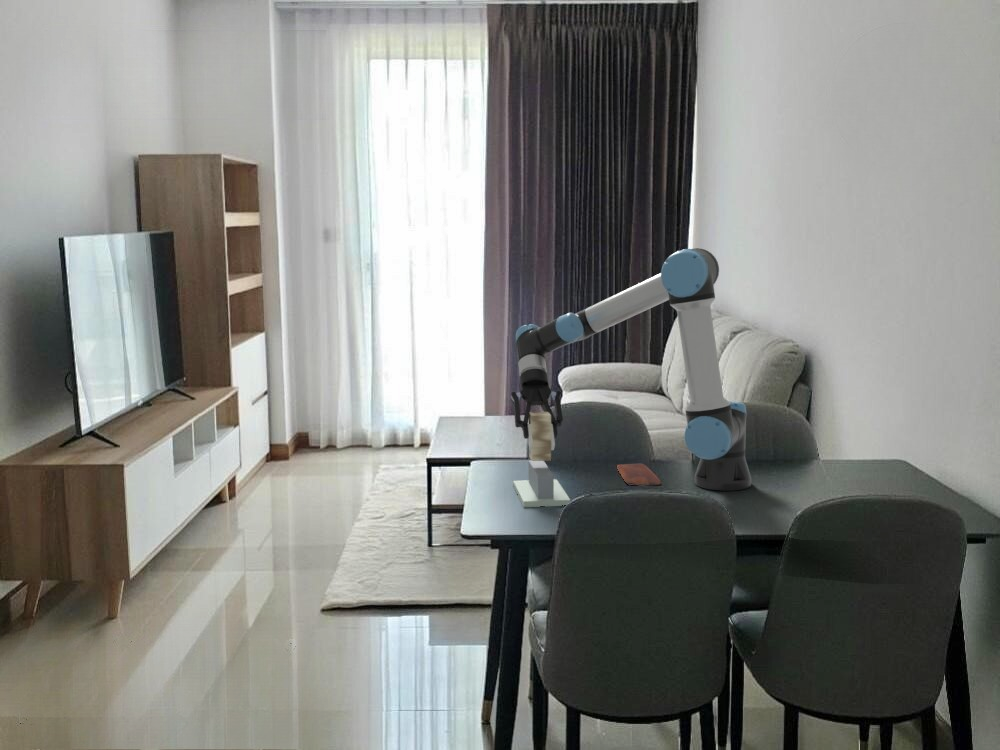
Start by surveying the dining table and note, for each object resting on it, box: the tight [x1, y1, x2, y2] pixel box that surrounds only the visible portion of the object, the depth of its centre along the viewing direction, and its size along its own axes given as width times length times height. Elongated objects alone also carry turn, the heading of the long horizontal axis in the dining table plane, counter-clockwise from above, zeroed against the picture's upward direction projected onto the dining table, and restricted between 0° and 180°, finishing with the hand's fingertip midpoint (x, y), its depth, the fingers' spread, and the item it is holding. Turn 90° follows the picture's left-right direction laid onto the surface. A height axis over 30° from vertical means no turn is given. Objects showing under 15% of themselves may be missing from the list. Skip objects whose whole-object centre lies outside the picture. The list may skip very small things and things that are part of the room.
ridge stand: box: [512, 459, 571, 508], centre depth 289 cm, size 22×12×8 cm, turn 6°
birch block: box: [528, 411, 552, 462], centre depth 287 cm, size 5×5×12 cm
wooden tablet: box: [616, 462, 662, 486], centre depth 312 cm, size 27×10×2 cm, turn 2°
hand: (542, 447), depth 284 cm, fingers closed on birch block, 5 cm apart
